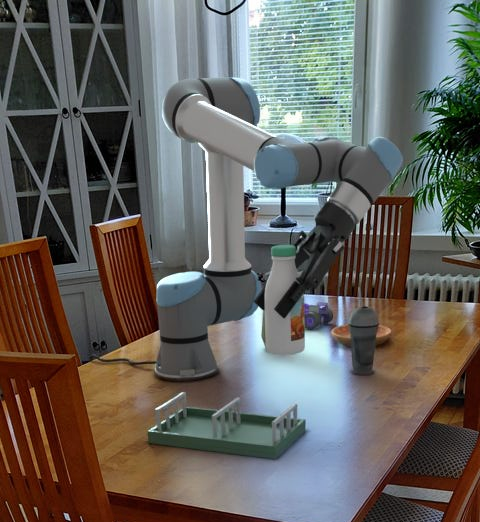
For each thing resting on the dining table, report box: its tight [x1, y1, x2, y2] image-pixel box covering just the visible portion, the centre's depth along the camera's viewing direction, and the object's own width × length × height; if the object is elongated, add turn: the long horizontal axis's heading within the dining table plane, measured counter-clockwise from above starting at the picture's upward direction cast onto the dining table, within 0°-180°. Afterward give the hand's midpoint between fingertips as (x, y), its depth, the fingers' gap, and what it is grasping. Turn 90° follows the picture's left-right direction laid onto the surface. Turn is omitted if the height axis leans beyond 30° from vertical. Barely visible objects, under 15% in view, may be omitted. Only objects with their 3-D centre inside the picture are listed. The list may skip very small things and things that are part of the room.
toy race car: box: [304, 301, 334, 331], centre depth 254 cm, size 10×15×6 cm, turn 54°
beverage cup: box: [347, 286, 380, 376], centre depth 204 cm, size 7×7×20 cm
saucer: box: [331, 323, 392, 347], centre depth 234 cm, size 16×16×3 cm
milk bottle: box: [264, 244, 306, 356], centre depth 167 cm, size 8×8×20 cm
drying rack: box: [147, 391, 307, 460], centre depth 171 cm, size 27×16×6 cm, turn 66°
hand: (268, 309), depth 167 cm, fingers closed on milk bottle, 8 cm apart
